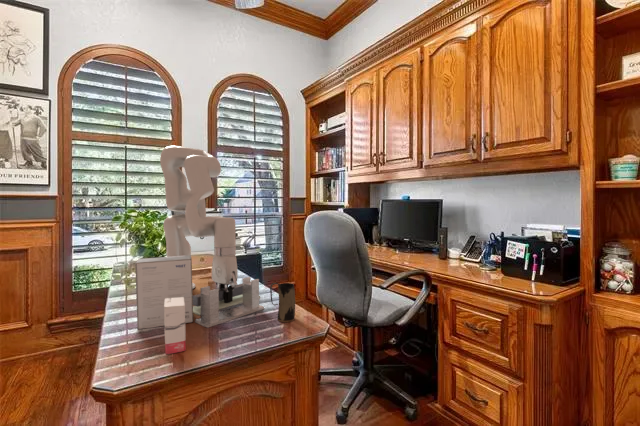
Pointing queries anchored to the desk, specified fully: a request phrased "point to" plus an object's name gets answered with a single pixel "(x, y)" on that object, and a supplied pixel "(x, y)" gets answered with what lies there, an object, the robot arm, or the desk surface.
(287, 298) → the mug
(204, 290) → the rack
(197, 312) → the mat
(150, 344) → the desk surface
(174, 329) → the ink box
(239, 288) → the rail
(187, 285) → the hard drive box
